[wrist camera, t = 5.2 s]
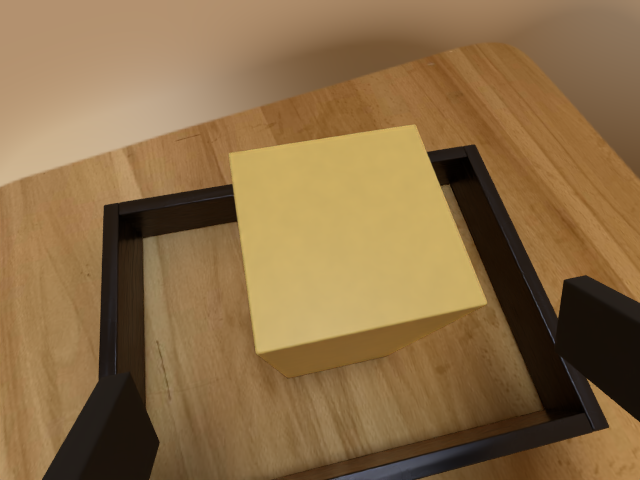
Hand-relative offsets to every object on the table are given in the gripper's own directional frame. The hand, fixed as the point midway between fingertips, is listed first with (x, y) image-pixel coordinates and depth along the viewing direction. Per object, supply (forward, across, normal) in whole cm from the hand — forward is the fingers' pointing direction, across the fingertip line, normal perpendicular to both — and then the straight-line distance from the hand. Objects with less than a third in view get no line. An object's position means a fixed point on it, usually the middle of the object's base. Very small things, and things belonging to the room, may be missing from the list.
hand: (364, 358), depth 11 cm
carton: (+8, 0, -4) cm, 9 cm away
